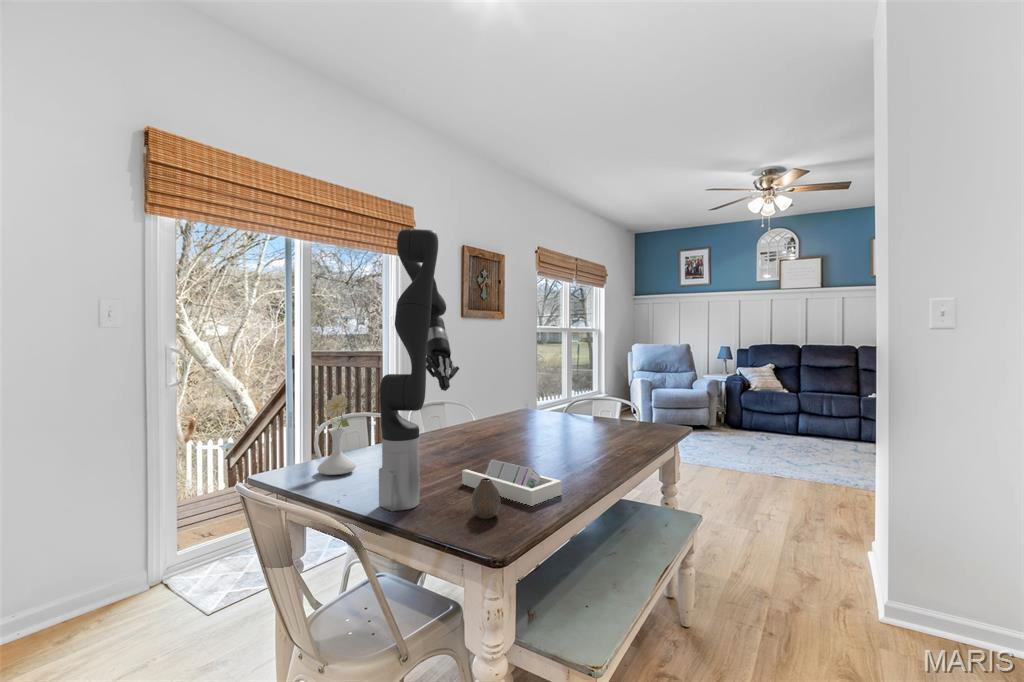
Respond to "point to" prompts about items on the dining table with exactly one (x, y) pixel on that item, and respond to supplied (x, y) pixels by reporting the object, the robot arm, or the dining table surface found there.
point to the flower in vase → (336, 440)
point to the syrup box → (513, 473)
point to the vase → (486, 499)
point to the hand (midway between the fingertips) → (445, 388)
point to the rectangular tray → (517, 488)
